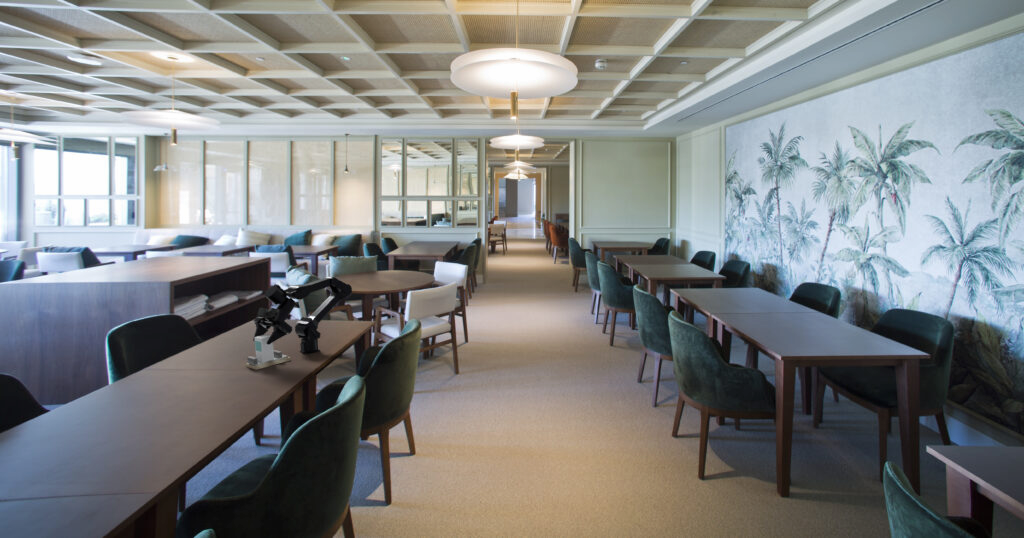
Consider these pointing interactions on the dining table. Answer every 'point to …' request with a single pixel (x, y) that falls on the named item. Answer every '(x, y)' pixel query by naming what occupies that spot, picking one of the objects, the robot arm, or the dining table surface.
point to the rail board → (278, 359)
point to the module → (263, 348)
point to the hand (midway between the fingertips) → (260, 342)
